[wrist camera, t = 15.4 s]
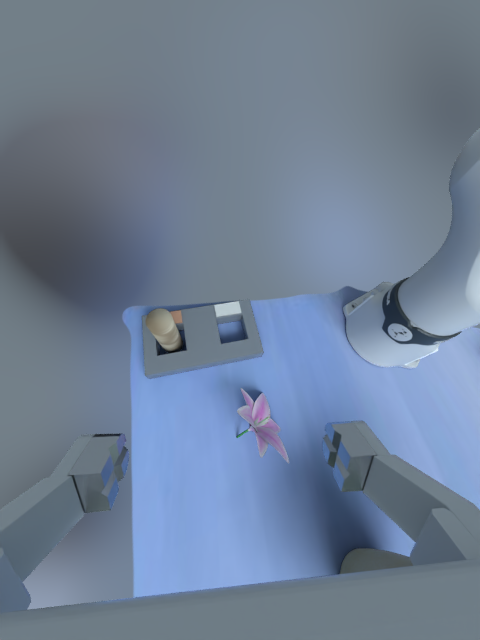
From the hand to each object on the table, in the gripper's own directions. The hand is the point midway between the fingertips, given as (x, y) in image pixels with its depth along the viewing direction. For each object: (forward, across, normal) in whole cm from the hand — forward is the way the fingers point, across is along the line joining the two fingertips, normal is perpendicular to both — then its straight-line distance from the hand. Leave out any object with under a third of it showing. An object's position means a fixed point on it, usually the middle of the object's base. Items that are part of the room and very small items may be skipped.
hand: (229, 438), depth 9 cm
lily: (+25, -6, +24) cm, 35 cm away
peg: (+35, +10, +13) cm, 39 cm away
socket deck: (+36, +4, +12) cm, 38 cm away
